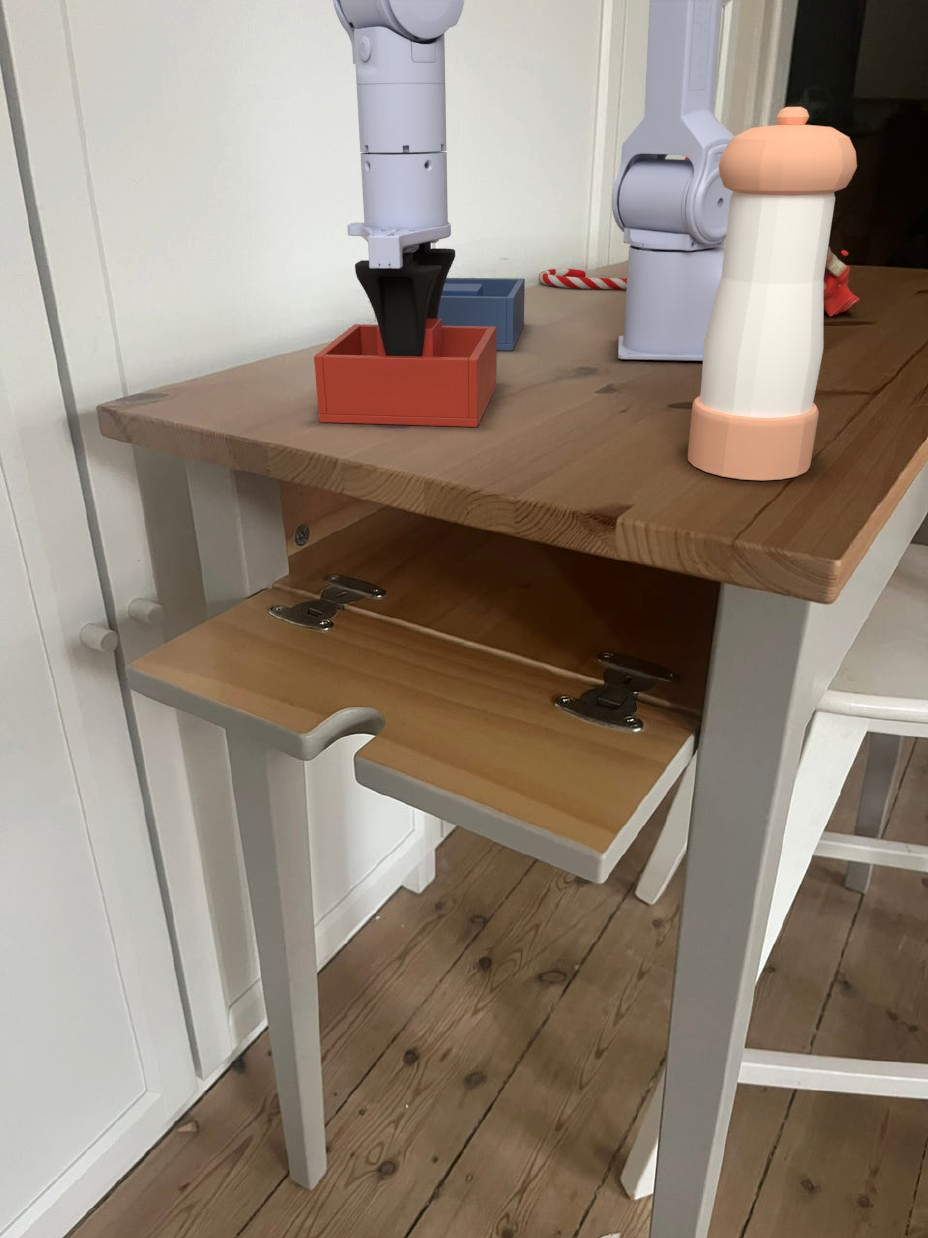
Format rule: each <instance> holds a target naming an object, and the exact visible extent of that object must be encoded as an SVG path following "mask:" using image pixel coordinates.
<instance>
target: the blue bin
mask: <svg viewBox="0 0 928 1238" xmlns="http://www.w3.org/2000/svg"><path fill="white" fill-rule="evenodd" d="M445 284H483V296H441V299H440V304H439V310H438V317H437V319H442V326H488V327H489V326H495V327H497V347H496V351H506V352H507V351H509V352H511V351H512V352H513V350H514V348H515V346H516V345H517V342H518V340H519V337H520V336H521V334H522V331H523V329H524V327H525V291H526V290H525V289H526V288H525V285H526V279H525V278H523V277H522V278H518V277H517V278H515V277H511V278H510V277H509V278H508V277H505V278H504V277H502V278H501V277H447V278H446V281H445Z"/></svg>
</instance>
